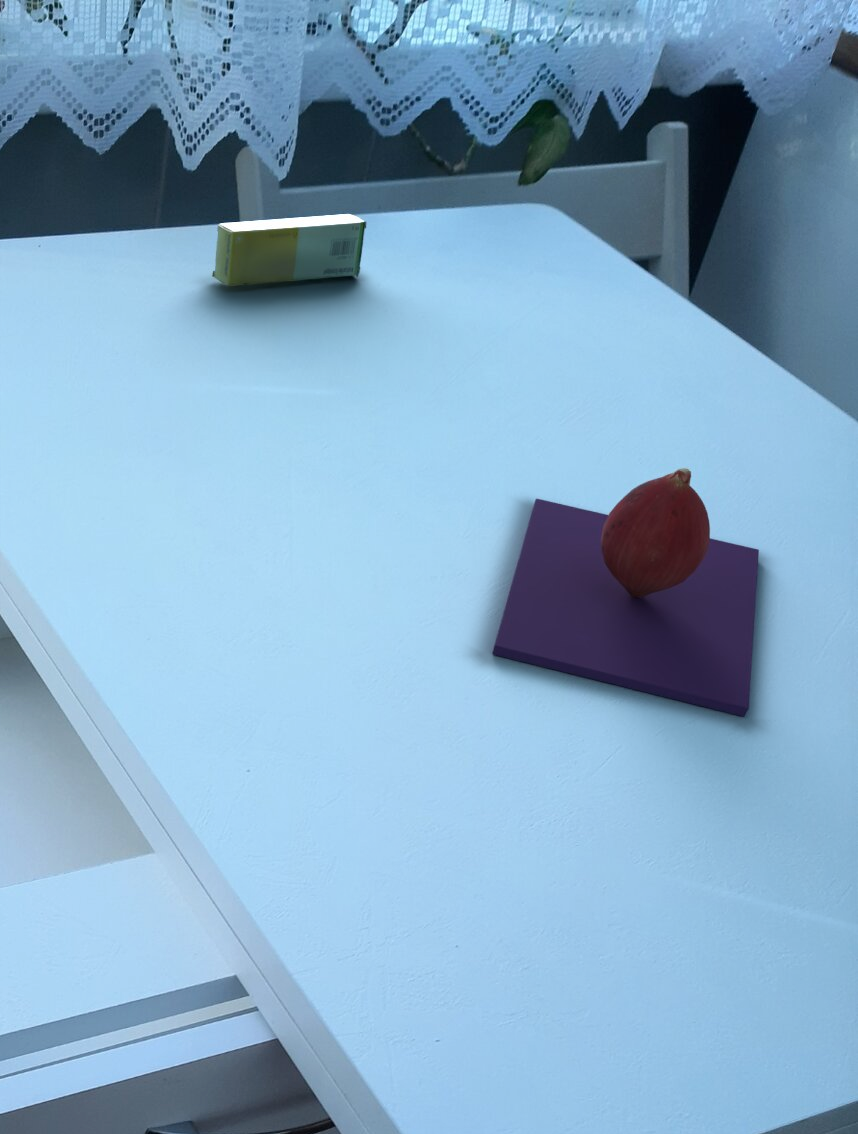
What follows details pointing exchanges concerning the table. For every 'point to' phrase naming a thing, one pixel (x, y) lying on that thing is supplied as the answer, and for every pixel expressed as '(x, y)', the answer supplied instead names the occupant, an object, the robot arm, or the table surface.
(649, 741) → the table surface
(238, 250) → the medication box
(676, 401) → the table surface
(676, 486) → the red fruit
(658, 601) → the mat
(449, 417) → the table surface
